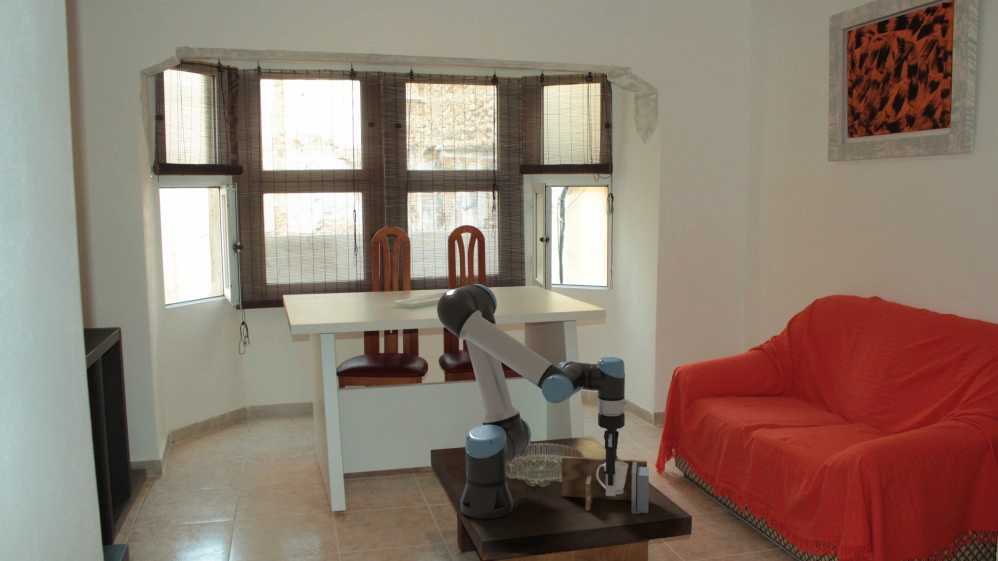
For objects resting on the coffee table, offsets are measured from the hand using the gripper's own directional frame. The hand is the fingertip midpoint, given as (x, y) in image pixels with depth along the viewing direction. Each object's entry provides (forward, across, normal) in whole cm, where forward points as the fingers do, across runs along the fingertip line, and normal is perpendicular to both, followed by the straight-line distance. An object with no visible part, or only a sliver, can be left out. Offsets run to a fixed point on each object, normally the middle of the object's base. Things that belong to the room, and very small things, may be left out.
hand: (611, 490), depth 236 cm
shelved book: (+6, +4, -9) cm, 12 cm away
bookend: (+6, +4, -6) cm, 10 cm away
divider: (+6, +4, +7) cm, 10 cm away
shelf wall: (+6, +10, +3) cm, 12 cm away
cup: (0, 0, 0) cm, 0 cm away
